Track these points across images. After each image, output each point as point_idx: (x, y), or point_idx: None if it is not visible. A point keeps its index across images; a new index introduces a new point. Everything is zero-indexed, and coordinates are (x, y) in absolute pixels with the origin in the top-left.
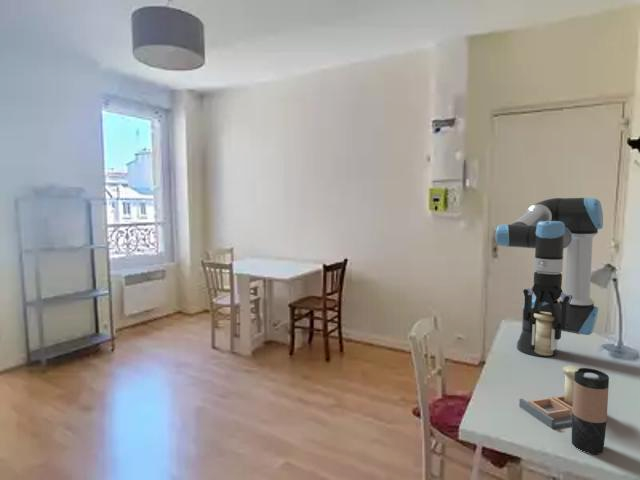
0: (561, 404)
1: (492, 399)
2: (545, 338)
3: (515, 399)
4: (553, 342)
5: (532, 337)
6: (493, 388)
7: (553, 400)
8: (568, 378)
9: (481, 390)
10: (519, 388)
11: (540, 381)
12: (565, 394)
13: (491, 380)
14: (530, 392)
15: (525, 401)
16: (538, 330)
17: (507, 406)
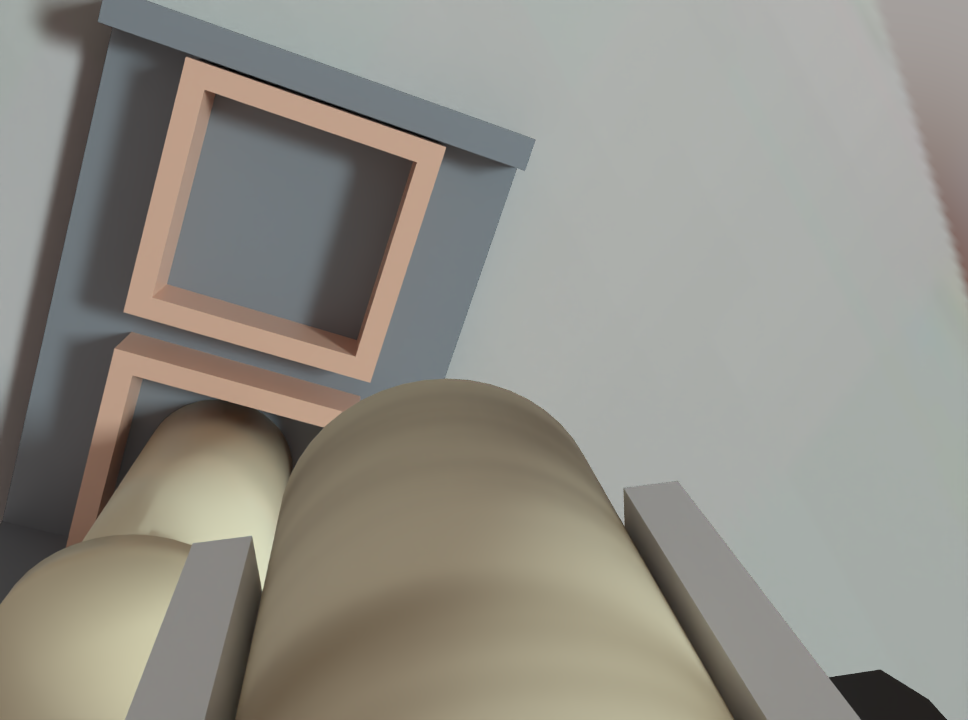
0: (258, 380)
1: (743, 49)
2: (325, 611)
3: (614, 232)
4: (146, 664)
5: (734, 577)
6: (845, 257)
7: (315, 355)
8: (168, 536)
9: (898, 126)
10: (698, 448)
11: None
12: (237, 456)
13: (931, 382)
14: (603, 459)
15: (471, 136)
16: (609, 717)
17: (586, 43)
